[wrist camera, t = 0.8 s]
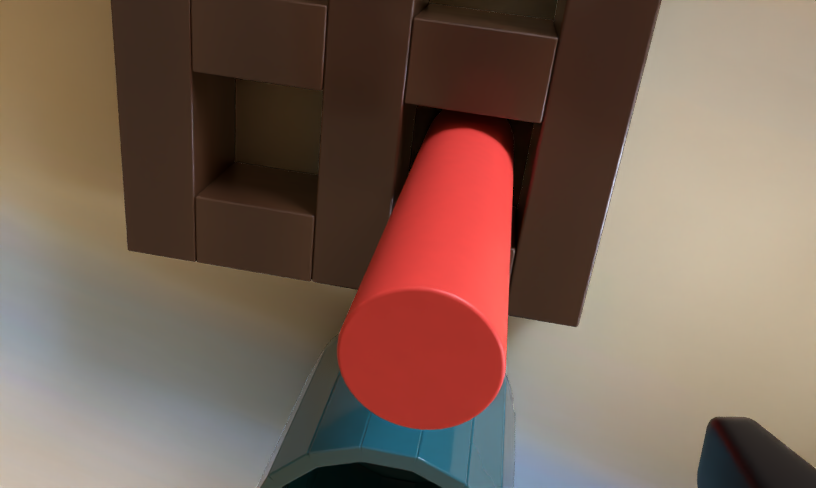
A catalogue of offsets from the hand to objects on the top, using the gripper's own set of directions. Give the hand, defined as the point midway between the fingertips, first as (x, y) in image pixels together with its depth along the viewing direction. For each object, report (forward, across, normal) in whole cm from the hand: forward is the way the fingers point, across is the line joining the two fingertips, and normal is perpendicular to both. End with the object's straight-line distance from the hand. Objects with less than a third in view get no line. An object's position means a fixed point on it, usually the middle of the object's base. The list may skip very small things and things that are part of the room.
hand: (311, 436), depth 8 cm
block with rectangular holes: (+13, 0, -2) cm, 14 cm away
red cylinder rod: (+13, -2, +1) cm, 13 cm away
